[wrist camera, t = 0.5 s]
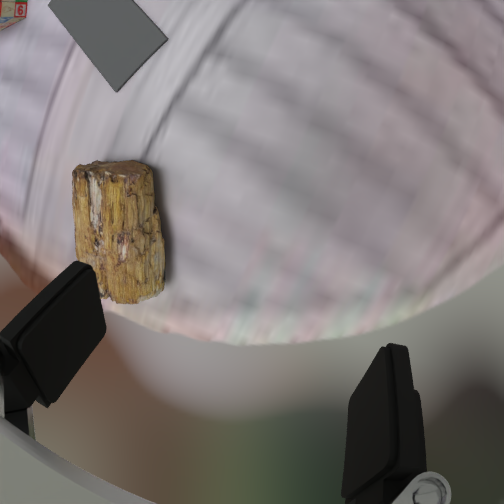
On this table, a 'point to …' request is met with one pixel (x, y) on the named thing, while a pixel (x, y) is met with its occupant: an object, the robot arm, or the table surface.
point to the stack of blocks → (12, 12)
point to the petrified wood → (119, 229)
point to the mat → (111, 35)
